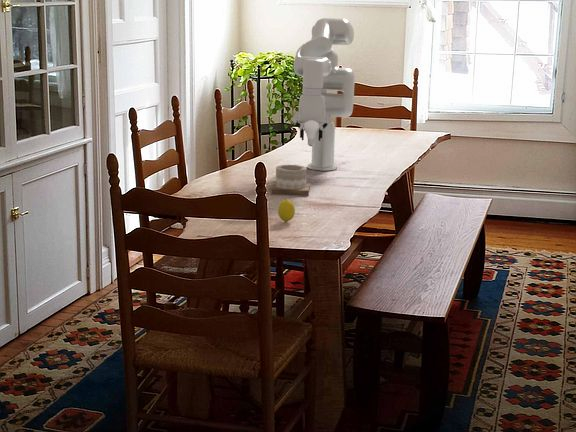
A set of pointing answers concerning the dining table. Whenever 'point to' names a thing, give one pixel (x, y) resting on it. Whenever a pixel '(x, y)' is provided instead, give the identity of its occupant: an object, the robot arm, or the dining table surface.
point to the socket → (290, 181)
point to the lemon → (286, 210)
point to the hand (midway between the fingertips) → (311, 139)
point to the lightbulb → (311, 131)
